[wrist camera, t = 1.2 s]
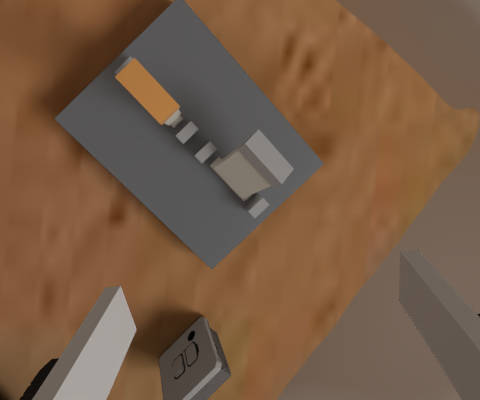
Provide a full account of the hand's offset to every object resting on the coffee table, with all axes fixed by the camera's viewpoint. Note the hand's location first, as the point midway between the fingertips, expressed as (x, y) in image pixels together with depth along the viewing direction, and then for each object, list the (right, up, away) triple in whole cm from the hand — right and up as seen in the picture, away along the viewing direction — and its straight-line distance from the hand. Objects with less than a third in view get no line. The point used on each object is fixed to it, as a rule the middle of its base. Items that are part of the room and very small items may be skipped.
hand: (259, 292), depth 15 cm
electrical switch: (-8, -17, +33) cm, 38 cm away
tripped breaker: (-10, +15, +22) cm, 29 cm away
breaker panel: (-7, +12, +28) cm, 31 cm away
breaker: (-2, +7, +24) cm, 25 cm away
